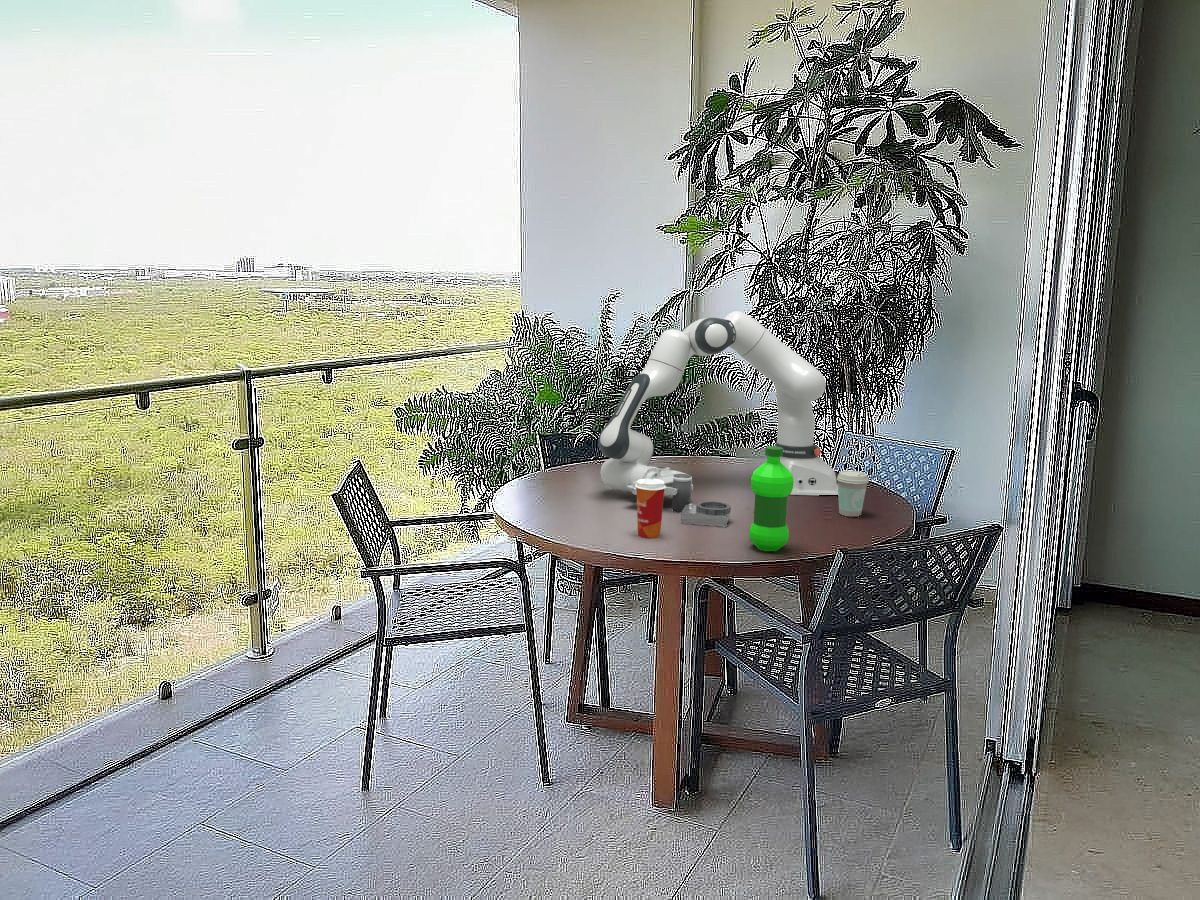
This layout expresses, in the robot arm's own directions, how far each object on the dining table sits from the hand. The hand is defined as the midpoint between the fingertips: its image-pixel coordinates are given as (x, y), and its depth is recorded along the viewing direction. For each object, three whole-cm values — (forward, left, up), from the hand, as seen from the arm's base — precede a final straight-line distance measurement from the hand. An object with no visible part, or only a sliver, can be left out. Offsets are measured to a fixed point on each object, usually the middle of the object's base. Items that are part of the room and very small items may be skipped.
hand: (684, 490), depth 258 cm
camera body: (-7, +9, -6) cm, 13 cm away
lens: (+1, 0, -6) cm, 6 cm away
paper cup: (+5, +27, -6) cm, 28 cm away
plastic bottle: (-25, +29, -6) cm, 39 cm away
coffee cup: (-45, -10, -6) cm, 47 cm away
